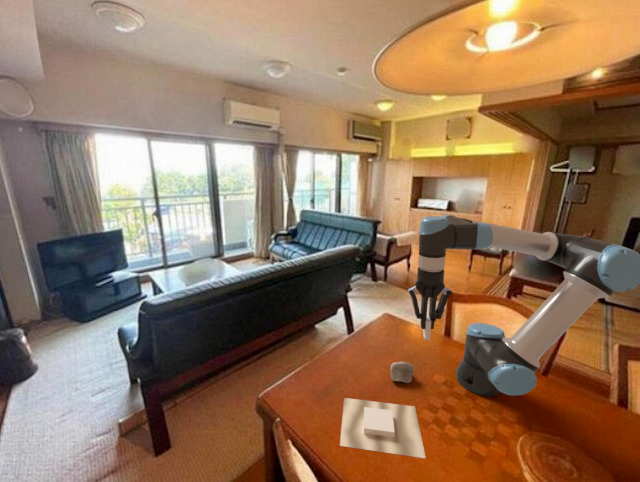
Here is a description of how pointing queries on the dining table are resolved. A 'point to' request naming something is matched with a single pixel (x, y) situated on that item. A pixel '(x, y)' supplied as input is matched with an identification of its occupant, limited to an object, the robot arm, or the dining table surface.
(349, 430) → the cloth
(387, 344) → the dining table surface
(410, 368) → the stone
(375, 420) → the tile
